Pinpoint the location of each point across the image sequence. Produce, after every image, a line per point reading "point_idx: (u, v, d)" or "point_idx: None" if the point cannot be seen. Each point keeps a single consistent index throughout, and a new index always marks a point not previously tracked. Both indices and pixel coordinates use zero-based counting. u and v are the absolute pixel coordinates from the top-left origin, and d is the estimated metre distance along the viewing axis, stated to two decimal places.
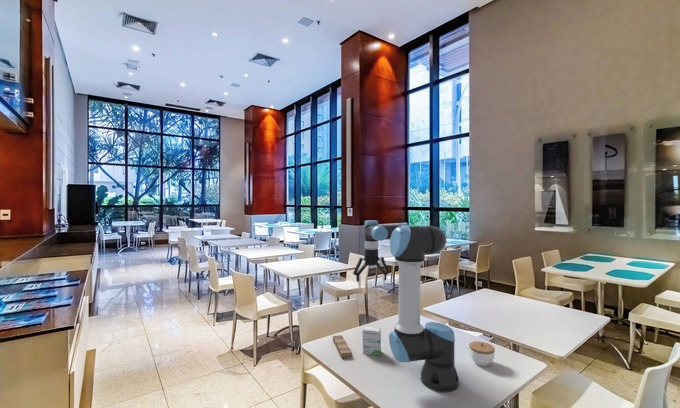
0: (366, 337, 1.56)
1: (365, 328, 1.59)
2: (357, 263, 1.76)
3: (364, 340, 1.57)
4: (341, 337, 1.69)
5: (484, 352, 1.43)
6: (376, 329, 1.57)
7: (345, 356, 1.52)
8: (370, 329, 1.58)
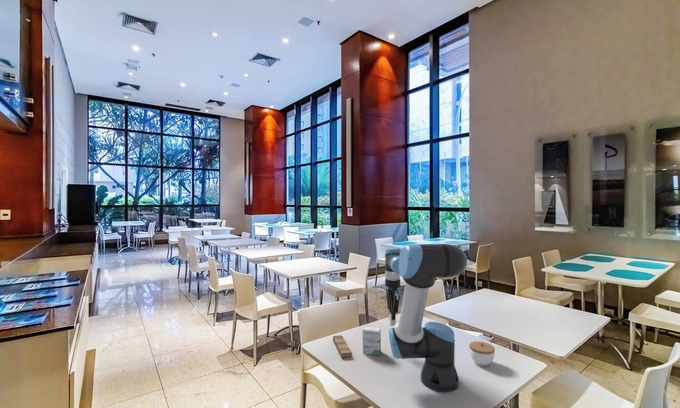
0: (366, 337, 1.56)
1: (365, 328, 1.59)
2: None
3: (364, 340, 1.57)
4: (341, 337, 1.69)
5: (484, 352, 1.43)
6: (376, 329, 1.57)
7: (345, 356, 1.52)
8: (370, 329, 1.58)
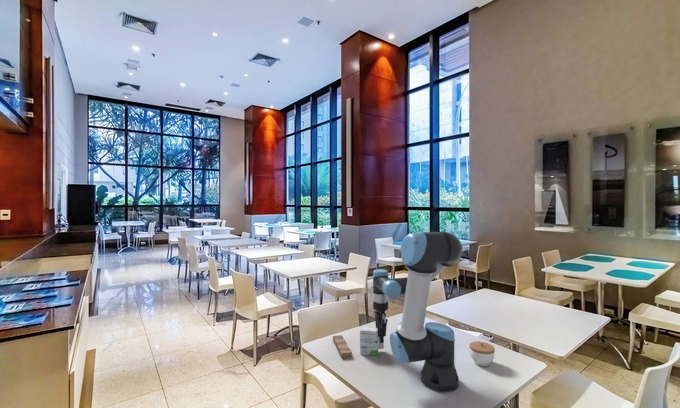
0: (364, 338, 1.56)
1: (362, 328, 1.58)
2: None
3: (361, 340, 1.56)
4: (341, 337, 1.69)
5: (484, 352, 1.43)
6: (373, 329, 1.57)
7: (345, 356, 1.52)
8: (368, 329, 1.57)
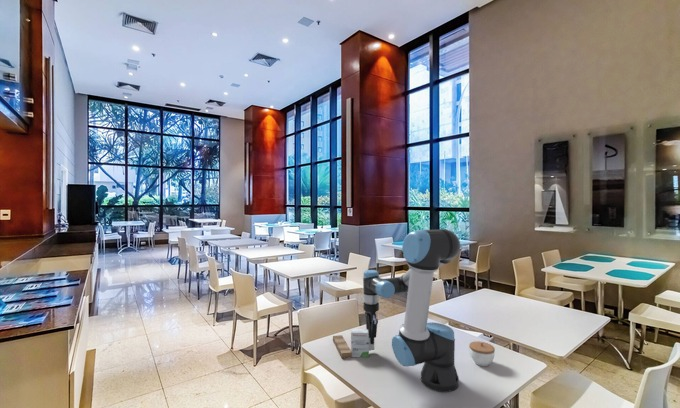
0: (355, 340, 1.54)
1: (353, 330, 1.56)
2: None
3: (353, 343, 1.54)
4: (341, 337, 1.69)
5: (484, 352, 1.43)
6: (364, 331, 1.56)
7: (345, 356, 1.52)
8: (359, 331, 1.55)
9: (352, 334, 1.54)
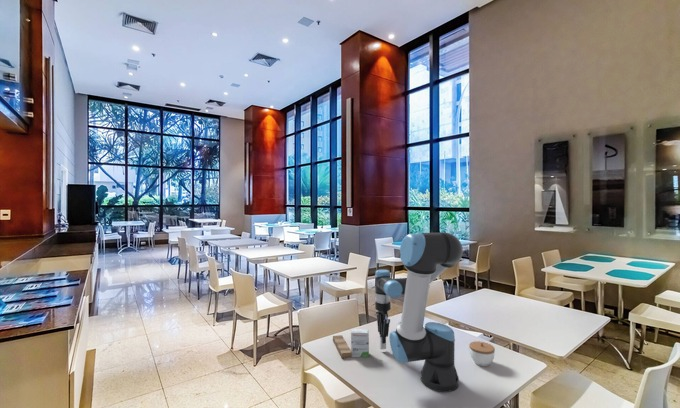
0: (355, 340, 1.54)
1: (353, 330, 1.56)
2: None
3: (353, 343, 1.54)
4: (341, 337, 1.69)
5: (484, 352, 1.43)
6: (364, 331, 1.56)
7: (345, 356, 1.52)
8: (359, 331, 1.55)
9: (352, 334, 1.54)
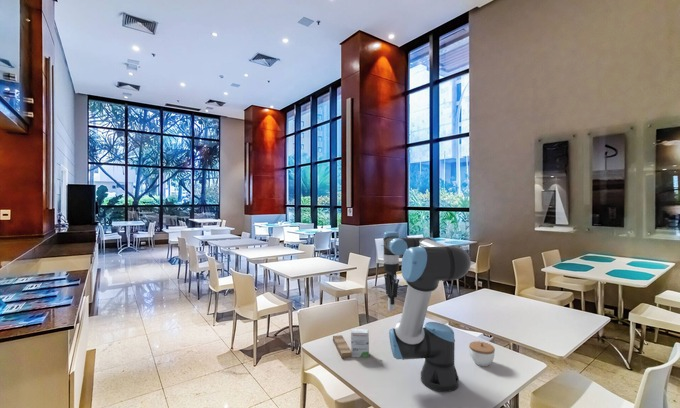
0: (355, 340, 1.54)
1: (353, 330, 1.56)
2: None
3: (353, 343, 1.54)
4: (341, 337, 1.69)
5: (484, 352, 1.43)
6: (364, 331, 1.56)
7: (345, 356, 1.52)
8: (359, 331, 1.55)
9: (352, 334, 1.54)
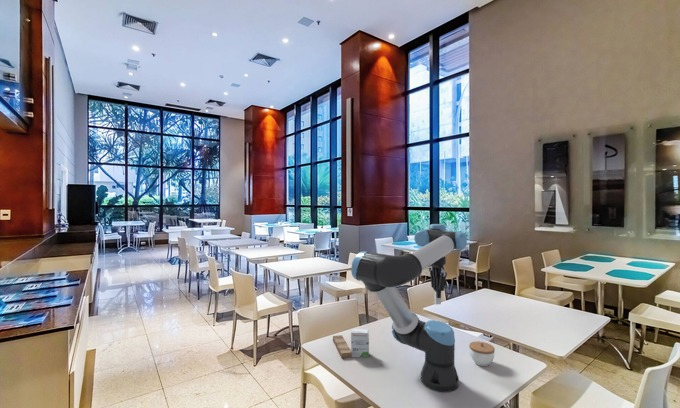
0: (355, 340, 1.54)
1: (353, 330, 1.56)
2: None
3: (353, 343, 1.54)
4: (341, 337, 1.69)
5: (484, 352, 1.43)
6: (364, 331, 1.56)
7: (345, 356, 1.52)
8: (359, 331, 1.55)
9: (352, 334, 1.54)
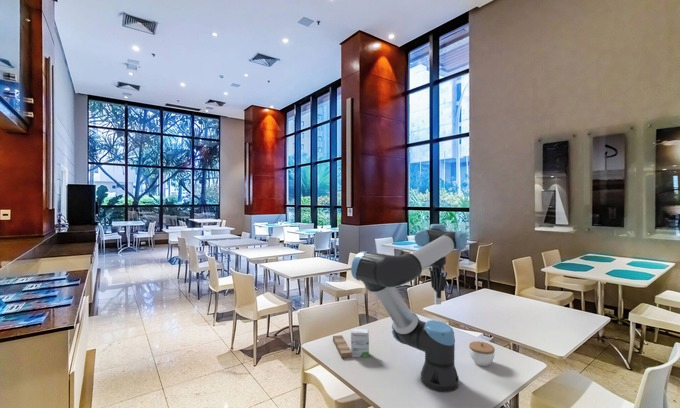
0: (355, 340, 1.54)
1: (353, 330, 1.56)
2: None
3: (353, 343, 1.54)
4: (341, 337, 1.69)
5: (484, 352, 1.43)
6: (364, 331, 1.56)
7: (345, 356, 1.52)
8: (359, 331, 1.55)
9: (352, 334, 1.54)
